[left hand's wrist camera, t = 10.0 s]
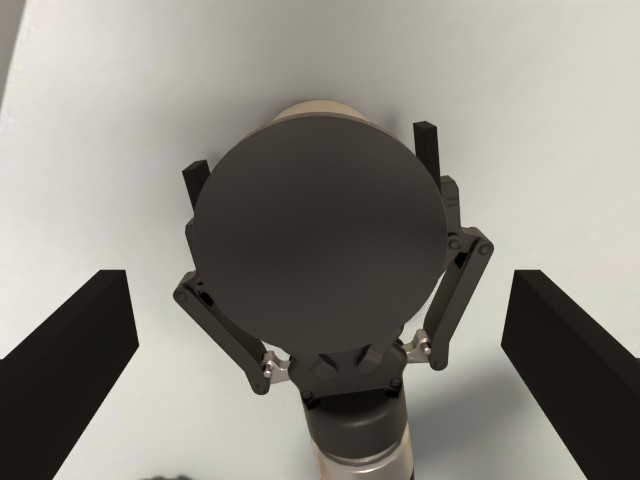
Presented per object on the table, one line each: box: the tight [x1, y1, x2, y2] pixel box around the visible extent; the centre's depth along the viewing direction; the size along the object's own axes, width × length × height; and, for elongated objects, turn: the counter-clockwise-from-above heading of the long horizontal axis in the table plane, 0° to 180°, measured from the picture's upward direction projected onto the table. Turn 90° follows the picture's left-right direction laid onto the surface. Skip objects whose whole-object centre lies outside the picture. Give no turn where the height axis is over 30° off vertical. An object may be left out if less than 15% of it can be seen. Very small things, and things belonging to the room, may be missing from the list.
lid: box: [192, 112, 448, 354], centre depth 19 cm, size 10×11×2 cm
